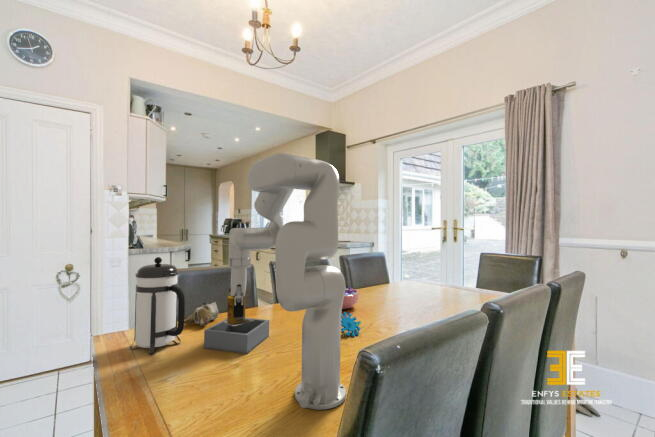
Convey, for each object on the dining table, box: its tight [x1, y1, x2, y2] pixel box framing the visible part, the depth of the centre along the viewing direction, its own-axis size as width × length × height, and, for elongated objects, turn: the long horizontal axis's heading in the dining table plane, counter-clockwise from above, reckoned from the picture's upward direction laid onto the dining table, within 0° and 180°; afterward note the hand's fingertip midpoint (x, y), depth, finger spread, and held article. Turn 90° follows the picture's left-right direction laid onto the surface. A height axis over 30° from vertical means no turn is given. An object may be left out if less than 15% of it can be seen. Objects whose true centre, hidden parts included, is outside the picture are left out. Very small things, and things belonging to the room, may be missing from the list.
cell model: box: [342, 286, 360, 310], centre depth 153 cm, size 17×20×11 cm
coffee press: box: [129, 256, 186, 356], centre depth 102 cm, size 17×16×30 cm
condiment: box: [222, 287, 254, 326], centre depth 108 cm, size 7×8×12 cm
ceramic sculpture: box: [184, 301, 219, 327], centre depth 127 cm, size 11×9×15 cm
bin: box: [203, 317, 270, 355], centre depth 107 cm, size 16×16×6 cm
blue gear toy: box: [341, 311, 362, 338], centre depth 118 cm, size 11×6×10 cm
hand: (238, 313), depth 107 cm, fingers closed on condiment, 6 cm apart
